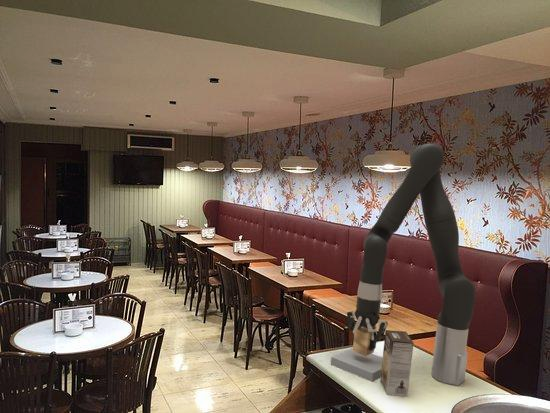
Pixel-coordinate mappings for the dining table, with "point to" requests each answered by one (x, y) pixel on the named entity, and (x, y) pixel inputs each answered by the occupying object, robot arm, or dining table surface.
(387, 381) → the coffee box
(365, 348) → the oak block
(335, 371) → the dining table surface
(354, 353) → the slate base
